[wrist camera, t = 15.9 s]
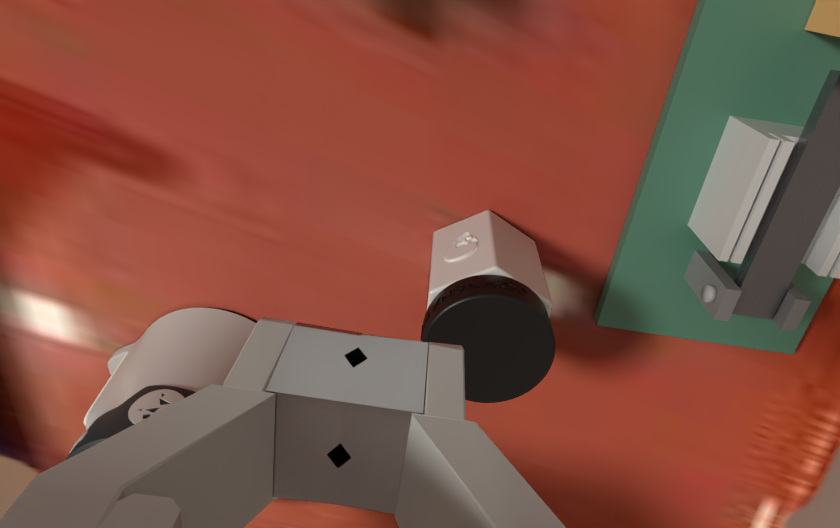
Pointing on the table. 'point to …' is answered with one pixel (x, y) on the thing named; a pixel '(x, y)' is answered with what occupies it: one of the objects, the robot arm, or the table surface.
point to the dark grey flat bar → (794, 209)
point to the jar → (490, 306)
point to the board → (682, 151)
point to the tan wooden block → (825, 18)
